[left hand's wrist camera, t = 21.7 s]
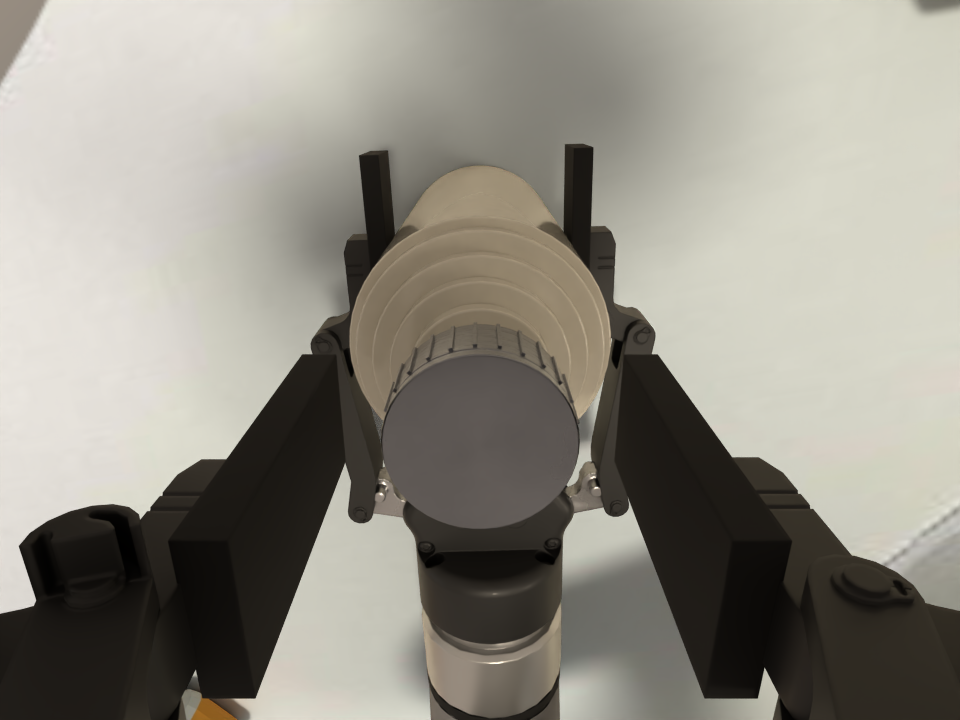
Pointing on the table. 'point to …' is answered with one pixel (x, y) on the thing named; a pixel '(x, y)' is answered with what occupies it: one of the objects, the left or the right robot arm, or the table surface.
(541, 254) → the bottle
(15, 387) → the table surface
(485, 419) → the cap
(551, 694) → the right robot arm
